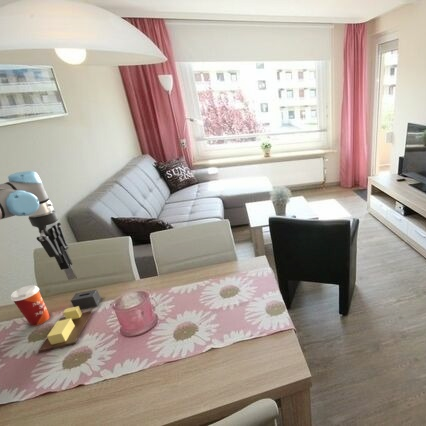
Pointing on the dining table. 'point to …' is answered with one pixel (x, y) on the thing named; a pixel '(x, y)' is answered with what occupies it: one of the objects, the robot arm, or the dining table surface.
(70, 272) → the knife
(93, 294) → the dark grey block
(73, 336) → the butter board
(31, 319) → the coffee cup
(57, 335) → the butter stick
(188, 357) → the dining table surface
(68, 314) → the butter pat
